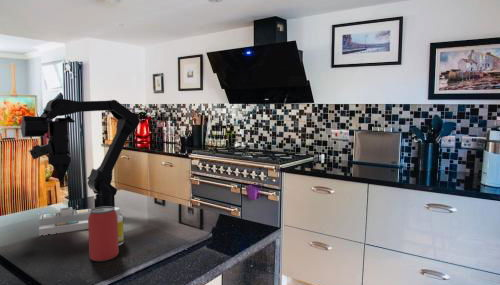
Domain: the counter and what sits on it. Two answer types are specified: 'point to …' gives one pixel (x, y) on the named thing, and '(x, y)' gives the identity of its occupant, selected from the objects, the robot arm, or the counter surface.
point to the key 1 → (49, 215)
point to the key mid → (66, 211)
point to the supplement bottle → (119, 226)
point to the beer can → (103, 233)
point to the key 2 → (82, 211)
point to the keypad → (63, 223)
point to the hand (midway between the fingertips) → (61, 181)
